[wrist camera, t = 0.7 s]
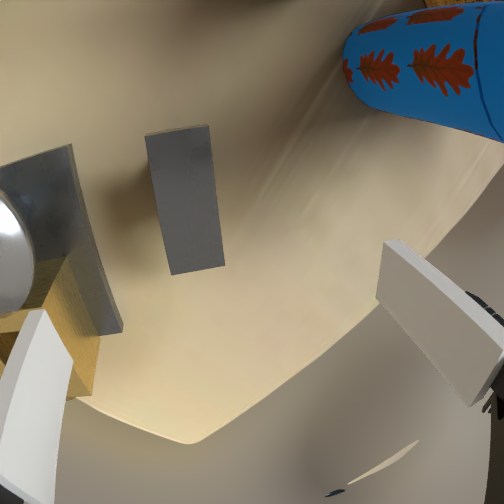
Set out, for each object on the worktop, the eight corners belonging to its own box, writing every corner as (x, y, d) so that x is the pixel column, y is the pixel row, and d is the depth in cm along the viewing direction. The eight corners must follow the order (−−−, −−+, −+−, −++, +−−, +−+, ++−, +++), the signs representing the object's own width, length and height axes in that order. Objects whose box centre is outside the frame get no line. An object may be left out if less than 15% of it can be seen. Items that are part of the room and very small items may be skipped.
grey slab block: (153, 124, 26) (144, 136, 18) (197, 117, 27) (208, 126, 19) (169, 225, 31) (171, 275, 23) (209, 218, 32) (225, 265, 23)
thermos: (350, 118, 30) (583, 201, 9) (330, 21, 25) (570, -15, 3) (424, 107, 31) (616, 170, 10) (410, 22, 26) (611, 29, 4)
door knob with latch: (-48, 177, 21) (-152, 250, 6) (69, 133, 24) (-37, 184, 9) (28, 357, 34) (-1, 466, 19) (131, 345, 36) (130, 473, 21)
